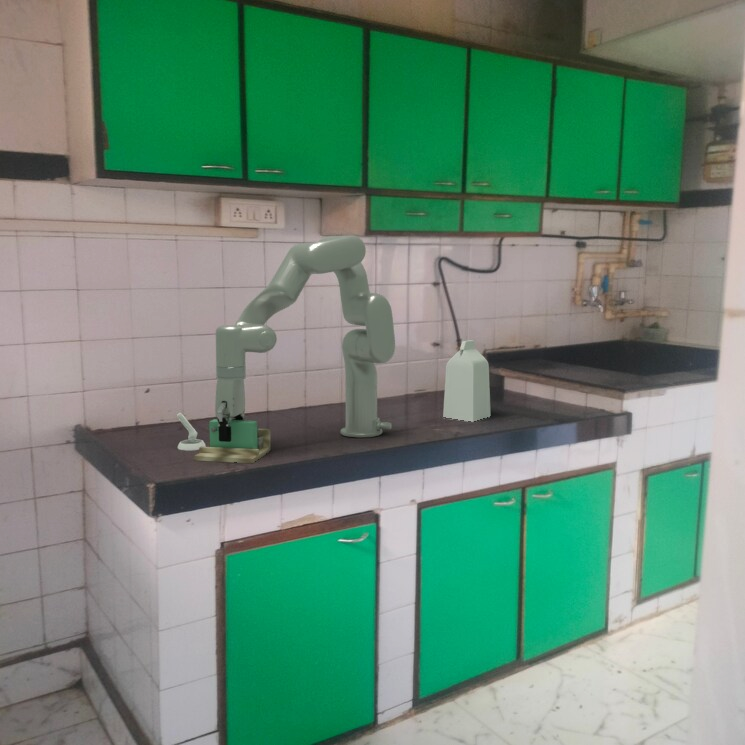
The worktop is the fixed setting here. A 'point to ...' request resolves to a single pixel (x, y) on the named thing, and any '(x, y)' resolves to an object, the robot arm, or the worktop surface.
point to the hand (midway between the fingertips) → (232, 437)
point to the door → (235, 434)
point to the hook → (192, 442)
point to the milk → (467, 385)
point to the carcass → (237, 451)
